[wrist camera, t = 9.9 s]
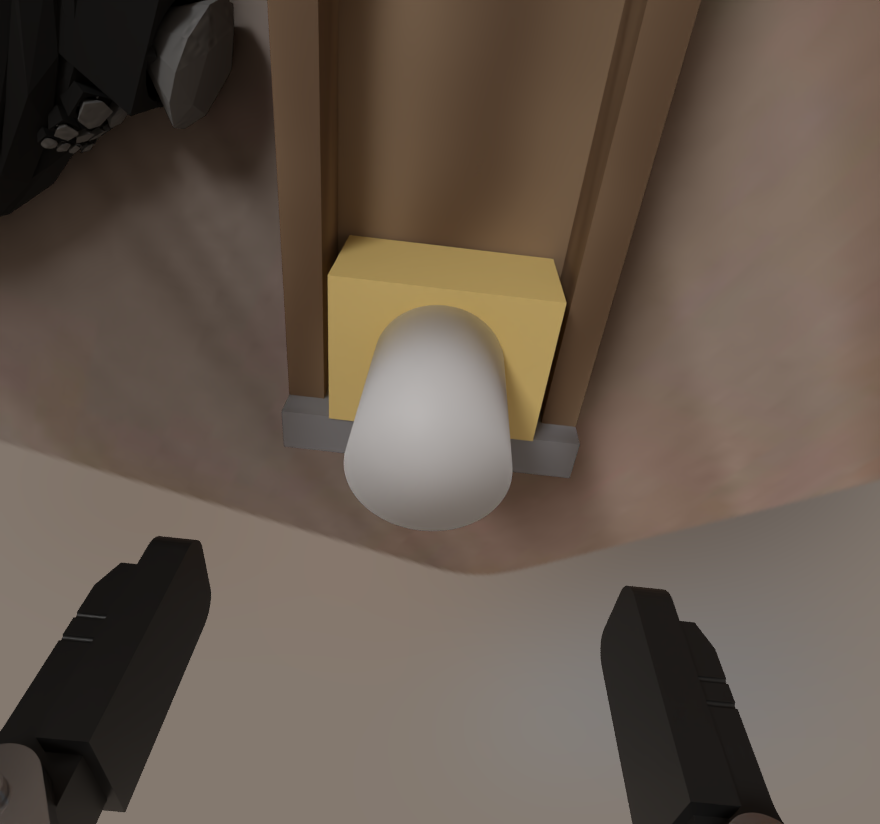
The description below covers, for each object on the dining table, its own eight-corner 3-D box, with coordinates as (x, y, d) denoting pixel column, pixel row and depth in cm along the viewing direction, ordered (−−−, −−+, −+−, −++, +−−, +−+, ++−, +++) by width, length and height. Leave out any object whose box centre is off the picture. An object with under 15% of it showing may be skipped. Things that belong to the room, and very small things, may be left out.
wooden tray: (316, 371, 24) (283, 446, 20) (294, -564, 12) (195, -872, 8) (553, 398, 24) (569, 478, 20) (785, -495, 12) (948, -758, 8)
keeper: (347, 364, 22) (289, 529, 15) (349, 235, 19) (278, 364, 12) (525, 385, 22) (547, 557, 15) (553, 259, 19) (596, 401, 12)
